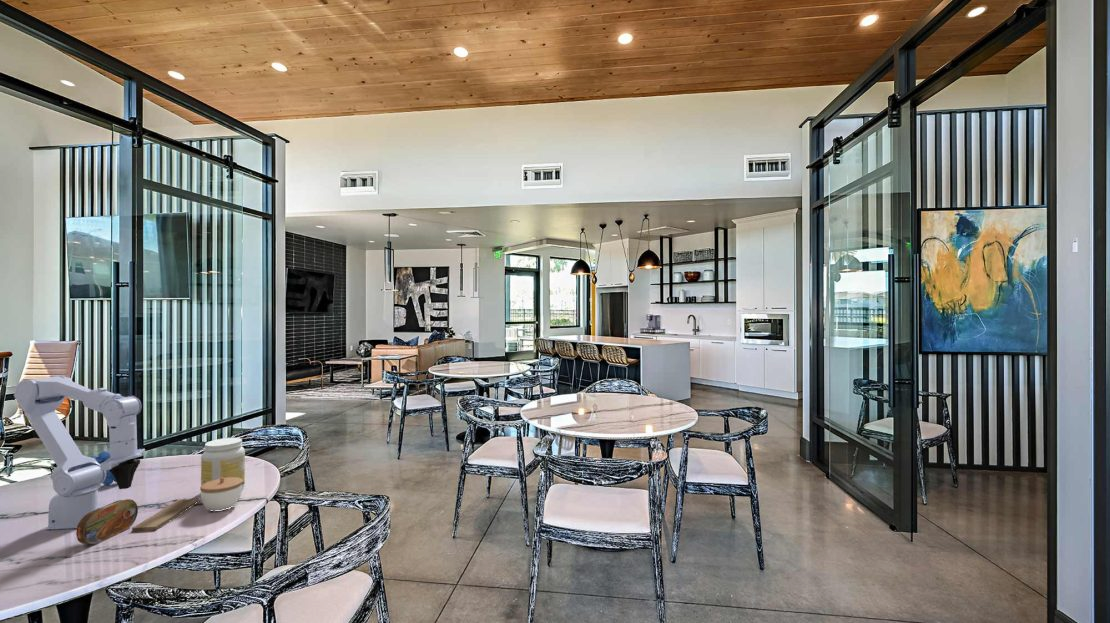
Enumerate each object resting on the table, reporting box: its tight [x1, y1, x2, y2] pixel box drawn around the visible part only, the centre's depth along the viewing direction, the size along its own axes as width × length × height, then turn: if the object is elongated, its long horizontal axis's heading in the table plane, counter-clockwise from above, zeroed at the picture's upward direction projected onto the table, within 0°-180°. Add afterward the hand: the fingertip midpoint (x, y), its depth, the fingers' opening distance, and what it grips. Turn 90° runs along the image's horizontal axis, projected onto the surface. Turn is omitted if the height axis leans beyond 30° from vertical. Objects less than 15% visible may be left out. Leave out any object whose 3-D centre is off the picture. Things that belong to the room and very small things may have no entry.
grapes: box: [91, 450, 117, 486], centre depth 163 cm, size 12×7×12 cm, turn 126°
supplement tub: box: [200, 437, 246, 489], centre depth 159 cm, size 12×12×17 cm
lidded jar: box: [200, 477, 243, 511], centre depth 145 cm, size 11×11×9 cm
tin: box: [75, 498, 139, 545], centre depth 126 cm, size 15×3×8 cm, turn 179°
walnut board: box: [131, 498, 200, 533], centre depth 139 cm, size 6×20×1 cm, turn 9°
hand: (125, 488), depth 133 cm, fingers closed
